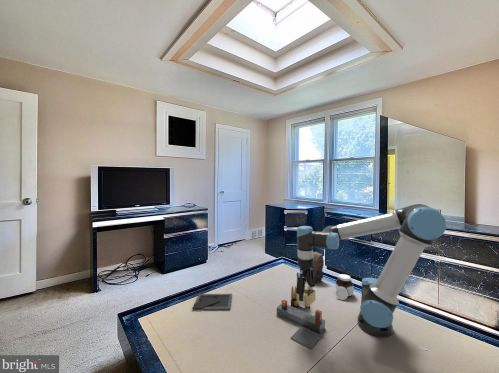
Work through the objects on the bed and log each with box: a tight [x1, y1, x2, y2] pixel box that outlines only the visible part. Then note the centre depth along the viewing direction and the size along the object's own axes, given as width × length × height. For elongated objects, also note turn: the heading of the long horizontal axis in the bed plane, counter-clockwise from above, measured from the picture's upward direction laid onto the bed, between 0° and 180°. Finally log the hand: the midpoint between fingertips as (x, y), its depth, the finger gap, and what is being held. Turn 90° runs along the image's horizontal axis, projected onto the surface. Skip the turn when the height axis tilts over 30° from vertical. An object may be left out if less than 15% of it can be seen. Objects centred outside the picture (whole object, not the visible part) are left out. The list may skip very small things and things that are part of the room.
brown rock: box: [303, 251, 325, 285], centre depth 162 cm, size 13×13×20 cm
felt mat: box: [290, 326, 322, 350], centre depth 103 cm, size 10×10×1 cm
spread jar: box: [335, 273, 355, 301], centre depth 140 cm, size 12×11×12 cm
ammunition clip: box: [290, 285, 311, 309], centre depth 128 cm, size 11×2×12 cm, turn 89°
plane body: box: [276, 299, 326, 335], centre depth 115 cm, size 24×6×9 cm, turn 49°
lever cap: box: [297, 286, 316, 307], centre depth 113 cm, size 6×8×6 cm
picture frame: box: [192, 293, 233, 311], centre depth 133 cm, size 16×2×21 cm
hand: (306, 302), depth 113 cm, fingers closed on lever cap, 8 cm apart
